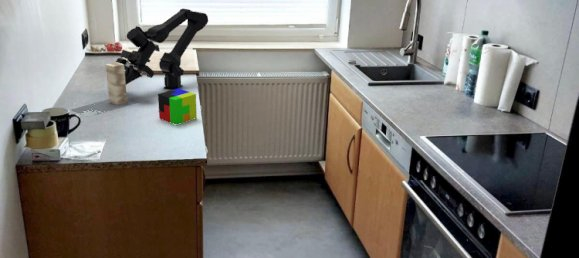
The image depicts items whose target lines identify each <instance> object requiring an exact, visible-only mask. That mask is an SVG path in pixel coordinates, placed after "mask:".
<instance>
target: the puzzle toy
mask: <svg viewBox="0 0 579 258" xmlns="http://www.w3.org/2000/svg"><path fill="white" fill-rule="evenodd" d="M157 100H158V113H159V114H158V115H159V116H158V117H159V118H160V119H159V120H162V119H163V120H162V121H164V120H166V121H165V122H167V121H168V122H167V123H169V122H171V123H170V124H172V123H174V124H179V123H182V122H185V123H187V122H186V121H188V122H190V121H189V120H191V121H193V120H195V119H194V118H196V119H197V116H198V115H197V94H196V93H193V92H191V91H188V90H184V89H182V88H178V89H175V90H173V89H170V90H168V91H164V92H160V93H158V94H157ZM192 119H193V120H192ZM174 124H173V125H174ZM182 124H183V123H182ZM179 125H180V124H179Z"/></svg>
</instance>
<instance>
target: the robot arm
mask: <svg viewBox="0 0 579 258" xmlns="http://www.w3.org/2000/svg"><path fill="white" fill-rule="evenodd" d="M184 22H187V26H186V27H185V29H184V31H183V32H182V33H181V35H180V37H179V39H178V40H177V42H176V43H175V45H174V46H173V48H172V49H171V51H169V52H164V53H163V54H162V56H161V58H159V63H158V66H159V69H160V71H161V73H162V74H164V78H163V79H164V80H163V81H164V82H163V83H164V86H163V89H165V90H166V89H167V90H175V89H178V88H179V89H182V88H183V87H184V85H183V84H182V77H181V76H183V75H184V71H185V70H184V69H183V68H182V67H181V61H182V60H181V59H182V57H183V54H184V53H185V52H186V50H187V49H188V47H189V45H190V44H191V42H192V41H193V39H194V37H195V36H196V34H197V33H198V32H200V31H201V30H203V29H204V28H205V27H206V26H207V24H208V23H209V17H208V15H207V13H205V12H199V11H193V10H191V9H188V8H180V9H179V11H177V12H176V13H175V14H174V15H172V16H171V17H169V18H168V19H167V20H165V21H163V23H161V24H157V25H154V26H151V27H149V28H148V29H147V30H146V31H144V30H143V29H142V28H141V27H140V26H135V27H134V28H131V29H130V30H129V31H128V32H127V33H126V38H127V40H128V41H130V42H131V44H133V46H135V47H136V48H138V49H137V50H132V51H129V50H125V49H122V50H121V53H120V54H121V55H120V57H118V58H117V59H116V61H115V62H118V63H121V64H124V70H125V82H126V86H127V85H128V84H130V83H131V82H133V81H135V80H137V79H139V78H142V77H143V73H145V74H146V77H147V78H150V79H152V78H153V76H154V75H155V72H154V71H155V70H154V69H152V68H151V67H150V66H148V64H147V63H150V62H151V61H152V60H151V57H152V55H153V54H154V52H160V47H159V44H162V43H165V41H166V40H167V39H168V38H169V36H170V33H172V31H174V30H175V29H176V28H178V27H179V26H181V25H182V24H183V23H184ZM155 43H158V44H155Z"/></svg>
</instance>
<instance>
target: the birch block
mask: <svg viewBox="0 0 579 258" xmlns="http://www.w3.org/2000/svg"><path fill="white" fill-rule="evenodd" d="M105 71H106V82H107V90H108V91H107V92H108V99H109V102H110V103H113V104H115V105H119V104H122V103H126V102H127V98H128V96H127V95H128V94H127V85H126V82H125V70H124V64H121V63H118V62H116V61H115V62H110V63H106V64H105Z"/></svg>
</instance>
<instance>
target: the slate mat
mask: <svg viewBox="0 0 579 258" xmlns="http://www.w3.org/2000/svg"><path fill="white" fill-rule="evenodd" d="M137 103H139V101H138V100H136V99H132V98H130V97H127V102H126V103H122V104H119V105H115V104H113V103H110V102H109V98H107V99H104V100H100V101H96V102H93V103H90V104H85V105H83V106H79V107H75V108H72V109H70V111H71V112H74V113H77V114H79V113H84V112H83V111H87V110H89V111H92V110H93V111H92V112H94V111H95V110H97V111H101V112H103V113H108V112H110V111H114V110H116V109H120V108H124V107H127V106H131V105H135V104H137ZM94 104H95V105H94ZM91 109H92V110H91ZM97 111H96V112H97ZM104 111H105V112H104ZM107 111H108V112H107ZM87 112H88V111H87ZM97 113H98V112H97Z"/></svg>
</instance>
